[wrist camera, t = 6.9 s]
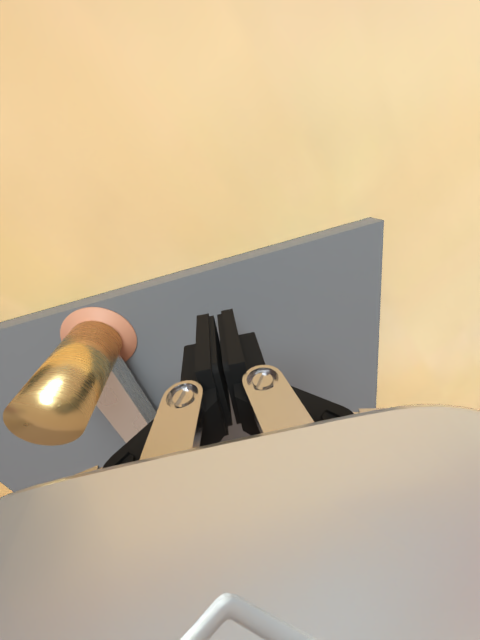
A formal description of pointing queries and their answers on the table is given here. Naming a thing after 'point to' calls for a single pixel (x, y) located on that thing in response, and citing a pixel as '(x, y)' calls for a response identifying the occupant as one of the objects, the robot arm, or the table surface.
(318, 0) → the table surface
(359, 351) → the base plate
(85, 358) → the crank handle
